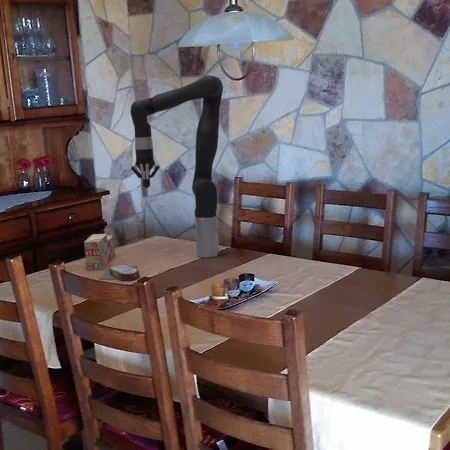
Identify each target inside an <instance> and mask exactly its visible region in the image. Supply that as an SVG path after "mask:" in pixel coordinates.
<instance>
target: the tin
mask: <svg viewBox="0 0 450 450" xmlns="http://www.w3.org/2000/svg"><path fill="white" fill-rule="evenodd" d="M111 266H112V267H111ZM111 266H109V268H108V269H109V272H110V273H109V275H110V276H113V277H115V278H117V279H116V280H119V281H133V280H136V279H138V278H140V270H139V268H137V267H136V268H134V267H132V266H133V265H129V264H117V265H111Z"/></svg>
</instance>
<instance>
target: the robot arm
mask: <svg viewBox="0 0 450 450" xmlns="http://www.w3.org/2000/svg"><path fill="white" fill-rule="evenodd" d="M223 91H224V85H223V81H222V80H221V78H219V77H217V76H214V75H208V74H207V75H204V76H203V77H200V78H199V79H197V80H195V81H193V82H190V83H189V84H186V85H183V86H180V87H178V88H174V89H172V90H171V89H170V90H168V91H165V92H161V93H158V94H156V95H154V96H152V97H149V98H145V99H139V100H135V101H134V102H132V104H131V105H130V116H131V120H132V124H133V126H134V127H133V128H134V148H135V149H134V151H135V163H134V165H133V166H131V167H130V170H131V171H132V172H133V173H134V174H135V175H136V177H137V178H139V179H142V184H143V187H144V189H148V188H149V189H150V187H151V178H154V177H155V175H156V174H157V172H158V171H159V169H161V165H159V164H157V163H156V161H155V159H154V145H153V138H152V126H151V124H150V123H149V122H148V116H151V115H154V114H156V113H159V112H163V111H167V110H169V109H174V108H176V107H178V106H180V105H182V104H184V103H187V102H190V101H193V100H200V99H202V110H201V111H202V112H201V115H200V118H199V119H198V120H199V121H198V125H197V128H196V135H195V156H194V157H195V163H194V164H195V165H194V174H193V178H192V185H191V190H192V193H193V195H194V196H195V197H194V198H195V210H194V226H195V227H194V229H195V244H196V245H195V246H196V256H197V257H199V258H213V257H218V256H219V254H220V253H219V252H220V246H219V231H218V224H217V223H218V221H217V218H218V217H217V211H218V194H217V193H218V191H217V185H216V184H215V182H213V166H214V165H213V164H214V161H215V158H216V154H217V151H218V148H219V147H218V146H219V130H220V128H219V127H220V109H221V102H222V96H223ZM138 169H139V170H138ZM152 169H154V170H153V171H152V172H151V170H152Z"/></svg>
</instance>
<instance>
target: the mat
mask: <svg viewBox="0 0 450 450" xmlns="http://www.w3.org/2000/svg"><path fill="white" fill-rule="evenodd" d="M112 266H113V265H111V266H110V267H112ZM131 266H132V267H134V268H137V267H138V265H131ZM109 273H110V272H109V268H108V269H107V270H106V271H105V272H104V273H103V274H102V275H101V276H100V277H99V278H98V280H105V281H106V280H118V279H117V278H115V277H113V276H110V275H109Z"/></svg>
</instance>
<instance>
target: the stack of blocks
mask: <svg viewBox="0 0 450 450" xmlns="http://www.w3.org/2000/svg"><path fill="white" fill-rule="evenodd" d="M83 244H84V245H83V246H84V256H85V266H86V271H102V270H103V269H104V268H105V267H106V266H107V265H108V264H109V263H110V261H111V260H112V259H114V257H115V256H116V254H115V253H116V251H115V242H114V235H108V234H107V233H98V234H96V233H95V234H94V233H93V234H91V235H90V236H89V237H88V238H87V239H86V240H85V241H84V242H83Z"/></svg>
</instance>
